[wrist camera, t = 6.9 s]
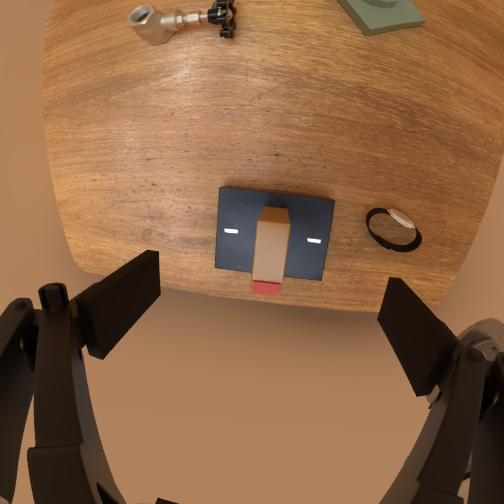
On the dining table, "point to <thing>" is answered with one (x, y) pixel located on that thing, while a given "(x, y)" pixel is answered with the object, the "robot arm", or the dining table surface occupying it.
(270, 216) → the lock knob
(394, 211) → the watch
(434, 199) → the dining table surface
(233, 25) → the valve
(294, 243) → the plate
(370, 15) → the doorbell
